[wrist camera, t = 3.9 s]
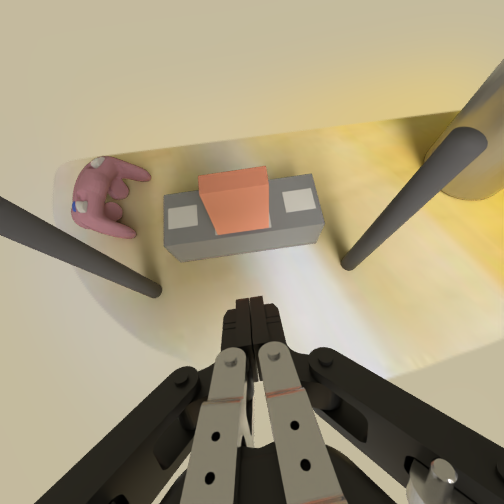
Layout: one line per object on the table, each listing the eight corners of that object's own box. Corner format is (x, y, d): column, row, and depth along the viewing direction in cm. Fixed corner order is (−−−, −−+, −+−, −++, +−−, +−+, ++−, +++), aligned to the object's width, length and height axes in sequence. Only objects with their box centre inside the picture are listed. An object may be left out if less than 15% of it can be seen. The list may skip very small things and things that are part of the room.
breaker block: (305, 198, 31) (311, 172, 27) (315, 243, 29) (325, 223, 24) (179, 216, 32) (163, 193, 27) (180, 262, 29) (163, 246, 25)
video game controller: (134, 181, 36) (83, 149, 30) (155, 173, 34) (105, 136, 28) (116, 245, 32) (55, 222, 27) (138, 240, 30) (76, 214, 25)
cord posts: (353, 256, 28) (477, 124, 11) (357, 269, 28) (494, 151, 11) (148, 285, 29) (-24, 198, 12) (147, 298, 28) (-34, 228, 11)
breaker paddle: (266, 213, 25) (265, 165, 18) (268, 227, 24) (268, 184, 18) (216, 220, 25) (198, 175, 18) (217, 235, 24) (199, 194, 18)
